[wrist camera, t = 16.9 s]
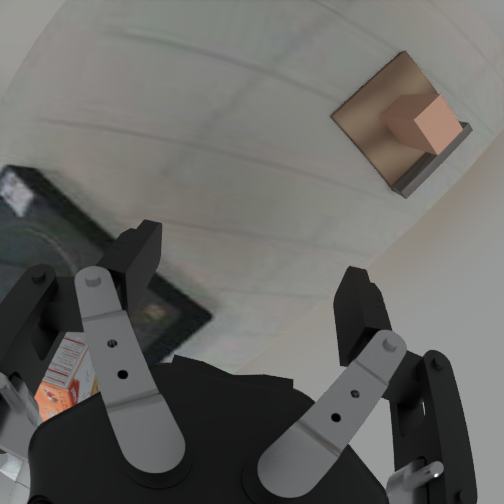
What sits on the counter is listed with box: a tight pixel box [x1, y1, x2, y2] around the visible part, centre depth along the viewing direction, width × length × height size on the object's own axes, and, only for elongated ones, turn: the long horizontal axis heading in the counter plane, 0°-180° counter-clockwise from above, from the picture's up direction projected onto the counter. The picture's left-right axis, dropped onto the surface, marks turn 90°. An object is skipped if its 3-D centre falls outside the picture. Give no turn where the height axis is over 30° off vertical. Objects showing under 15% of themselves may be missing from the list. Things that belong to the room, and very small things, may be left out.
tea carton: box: [379, 94, 463, 155], centre depth 30 cm, size 5×5×9 cm
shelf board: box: [330, 51, 473, 199], centre depth 34 cm, size 13×14×4 cm
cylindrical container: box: [7, 461, 30, 504], centre depth 65 cm, size 7×7×25 cm
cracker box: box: [34, 332, 100, 422], centre depth 38 cm, size 14×6×21 cm, turn 166°
